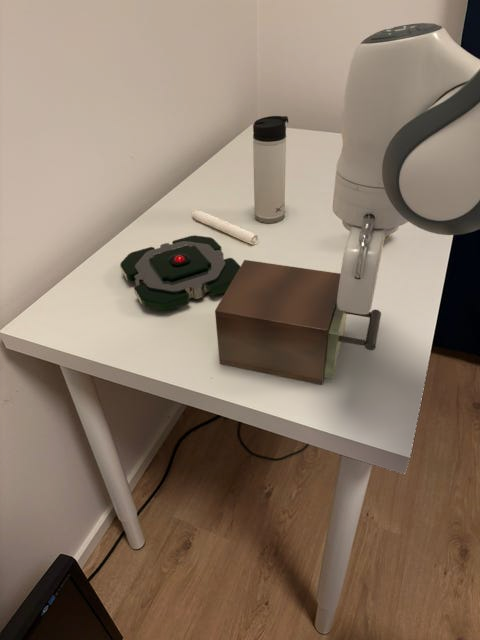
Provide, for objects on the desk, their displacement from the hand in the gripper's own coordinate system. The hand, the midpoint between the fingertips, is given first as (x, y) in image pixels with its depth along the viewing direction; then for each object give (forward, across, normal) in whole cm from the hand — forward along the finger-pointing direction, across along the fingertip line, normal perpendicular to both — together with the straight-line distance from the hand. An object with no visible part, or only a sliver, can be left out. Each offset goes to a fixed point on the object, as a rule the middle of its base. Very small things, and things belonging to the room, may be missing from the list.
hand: (358, 297), depth 62 cm
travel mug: (+11, +38, +22) cm, 45 cm away
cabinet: (+11, 0, +10) cm, 15 cm away
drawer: (+10, 0, +6) cm, 11 cm away
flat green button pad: (+11, +12, +31) cm, 35 cm away
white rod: (+11, +30, +30) cm, 44 cm away
